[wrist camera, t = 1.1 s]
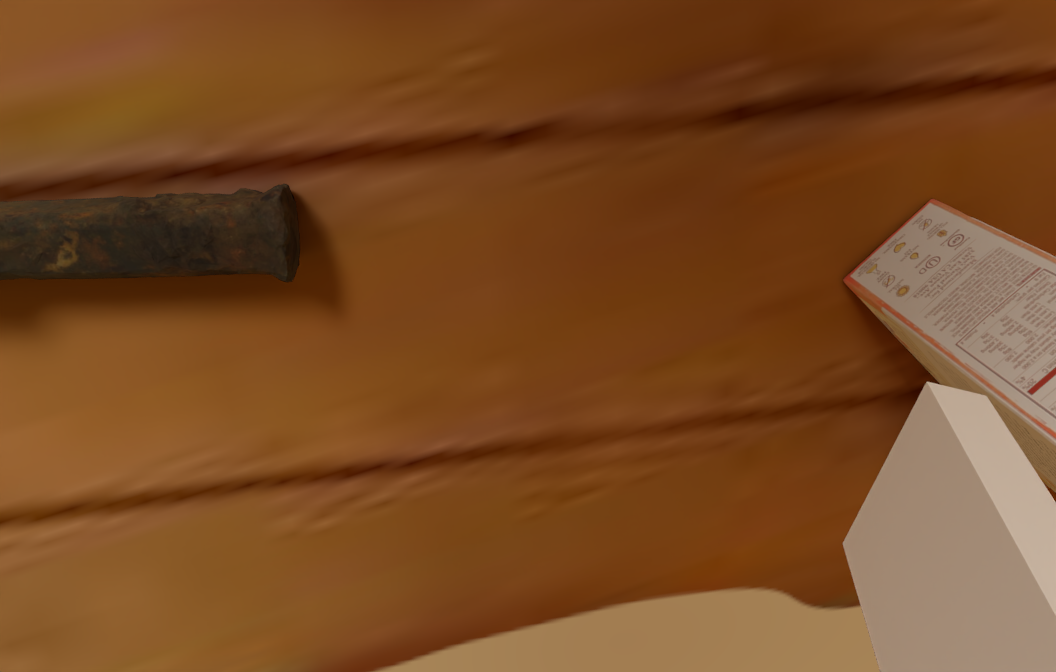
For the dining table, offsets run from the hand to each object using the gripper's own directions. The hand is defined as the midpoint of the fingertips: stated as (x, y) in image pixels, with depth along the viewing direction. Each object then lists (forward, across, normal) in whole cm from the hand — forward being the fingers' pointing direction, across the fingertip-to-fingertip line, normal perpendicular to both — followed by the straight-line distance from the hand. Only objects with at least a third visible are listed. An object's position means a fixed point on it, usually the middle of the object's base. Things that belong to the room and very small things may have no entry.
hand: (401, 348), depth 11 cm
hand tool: (+23, -18, -12) cm, 32 cm away
